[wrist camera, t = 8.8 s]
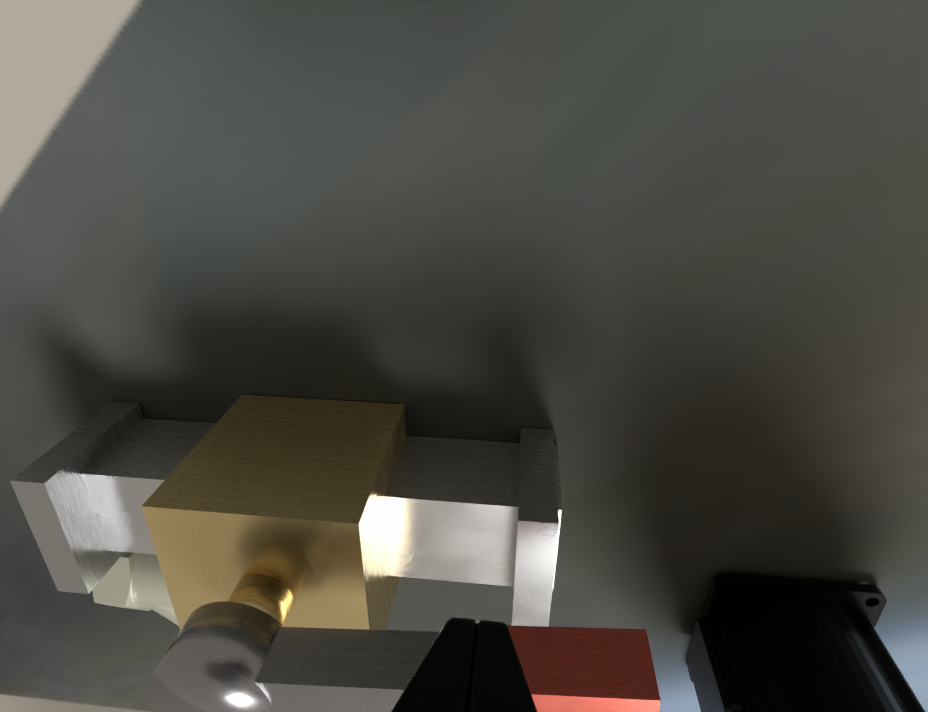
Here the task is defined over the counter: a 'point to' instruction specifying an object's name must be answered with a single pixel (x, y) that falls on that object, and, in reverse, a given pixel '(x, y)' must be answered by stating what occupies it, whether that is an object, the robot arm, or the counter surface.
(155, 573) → the pipe fitting
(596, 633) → the lever
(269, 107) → the counter surface
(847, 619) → the robot arm
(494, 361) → the counter surface
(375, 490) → the valve
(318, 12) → the counter surface
